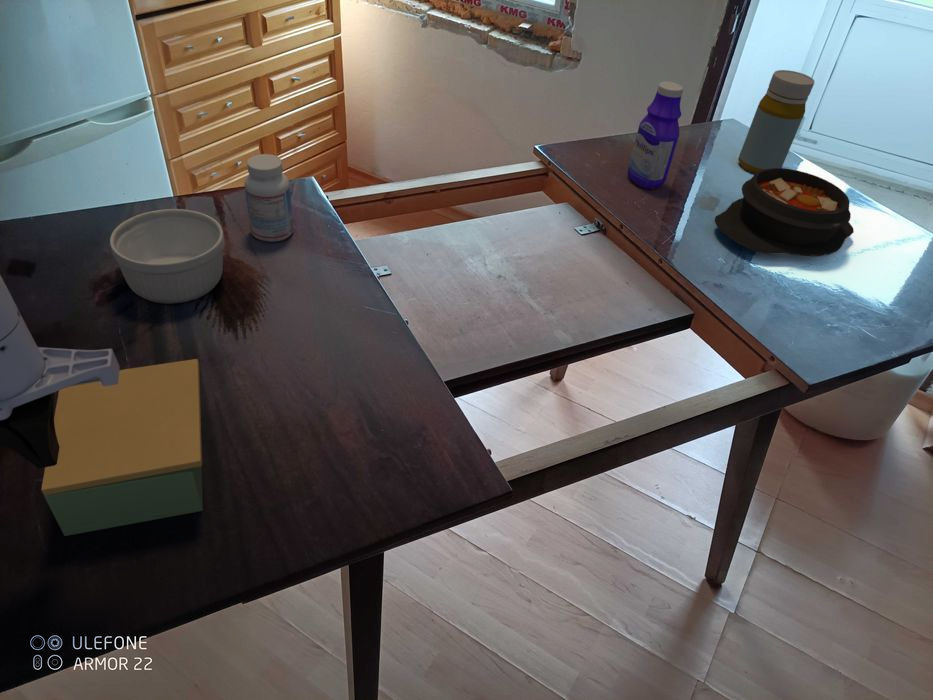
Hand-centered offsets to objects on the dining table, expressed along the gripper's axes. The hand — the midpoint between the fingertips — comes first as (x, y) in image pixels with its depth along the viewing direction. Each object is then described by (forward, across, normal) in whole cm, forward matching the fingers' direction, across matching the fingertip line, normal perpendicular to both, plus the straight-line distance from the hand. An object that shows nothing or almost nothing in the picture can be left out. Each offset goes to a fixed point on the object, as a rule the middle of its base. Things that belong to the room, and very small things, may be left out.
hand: (48, 457), depth 54 cm
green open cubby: (+11, +4, +7) cm, 13 cm away
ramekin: (+11, +7, +38) cm, 40 cm away
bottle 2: (+18, +113, +58) cm, 128 cm away
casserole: (+17, +101, +35) cm, 108 cm away
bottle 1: (+16, +86, +55) cm, 104 cm away
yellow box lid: (+5, +4, +7) cm, 9 cm away
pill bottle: (+12, +20, +48) cm, 53 cm away
